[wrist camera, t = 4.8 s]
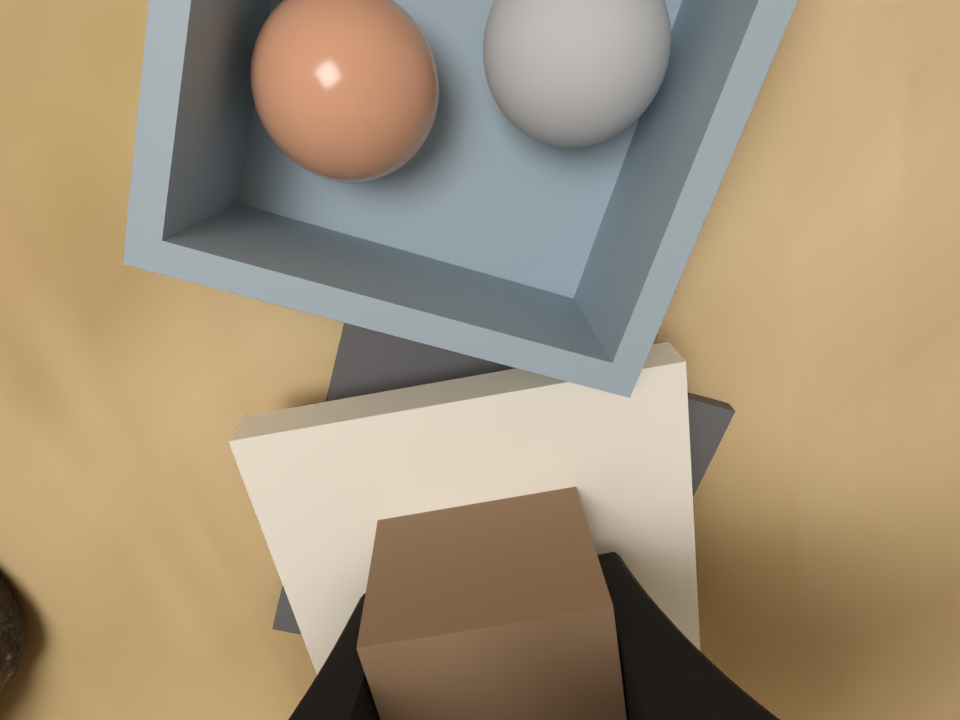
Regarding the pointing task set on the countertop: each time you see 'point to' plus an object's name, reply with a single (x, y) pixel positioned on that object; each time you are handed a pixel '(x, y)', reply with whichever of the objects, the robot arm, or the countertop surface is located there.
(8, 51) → the countertop surface
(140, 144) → the box
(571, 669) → the lid
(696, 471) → the mat
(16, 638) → the stone
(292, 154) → the ball terracotta
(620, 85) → the ball grey
